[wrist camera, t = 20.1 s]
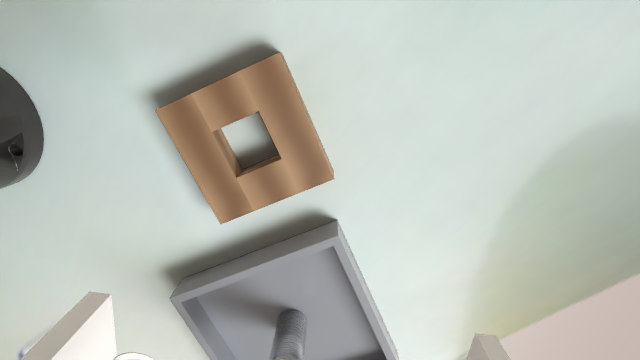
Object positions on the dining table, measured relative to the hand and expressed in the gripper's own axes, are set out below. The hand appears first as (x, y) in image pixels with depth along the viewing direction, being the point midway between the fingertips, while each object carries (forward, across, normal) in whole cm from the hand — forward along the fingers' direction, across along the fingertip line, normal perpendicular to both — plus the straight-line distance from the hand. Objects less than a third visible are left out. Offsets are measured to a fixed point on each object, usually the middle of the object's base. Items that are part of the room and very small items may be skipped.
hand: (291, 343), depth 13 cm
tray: (+29, 0, -23) cm, 37 cm away
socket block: (+29, -7, 0) cm, 30 cm away
